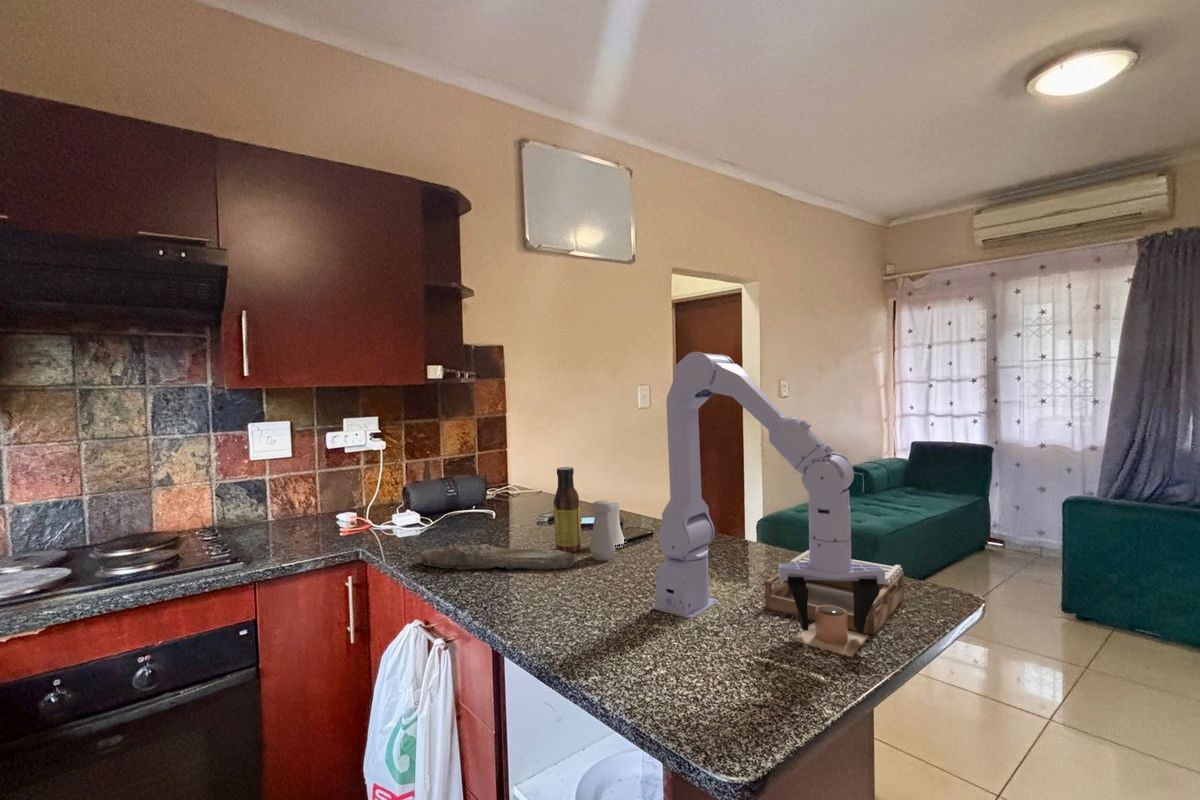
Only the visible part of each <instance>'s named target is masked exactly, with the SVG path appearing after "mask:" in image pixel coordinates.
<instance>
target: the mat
mask: <svg viewBox="0 0 1200 800" xmlns="http://www.w3.org/2000/svg"><path fill="white" fill-rule="evenodd" d="M868 638H869V634H865V633H858V632H857V631H853V630H848V642H847V643H845V644H841V645H834V644H828V643H824V642H822V641H820V640H818V639H817V638H816V625H815V621H814V622H812V623H811V624H810V625H808V631H804V630H803V631H802V632H801V633H800V634H799V635H798V636H797V637H795V638H794V641H795V642H798V643H801V644H804V645H808V646H812V647H816V648H818V649H822V650H826V651H829V652H832V653H837V654H841V655H844V656H848V657H851V658H852V657H854V655H855V653H857V651H858V650H859V649H860V648H861V646H862V645H863V644H864V643H865V642H866V641H867V639H868Z"/></svg>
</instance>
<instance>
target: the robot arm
mask: <svg viewBox="0 0 1200 800" xmlns="http://www.w3.org/2000/svg"><path fill="white" fill-rule="evenodd" d="M673 369H674V378H673V381H672V383H671V385H670V388H669V391H668V392H667V396H666V403H665V404H666V420H667V422H666V423H667V425H666V427H667V448H668V449H667V451H668V471H669V472H668V474H669V475H668V476H669V493H670V494H669V497H670V499H669V501H668V503H667V504H666V506H665V507H664V509H663V510H662V512H661V516H662V517H661V525H660V528H658V529H659V530H658V534H657V540H658V544H659V545H660V548H661V549H662V551H663V552H664V555H665V559H664V561H663V562H662V563H661V564H659V566H658V567H657V568H656V571H655V599H656V600H655V601H656V602H655V603H654V604H652V607H651V608H652V609H653V610H656V611H660V612H662V613H663V612H664V613H666V614H671V615H675V616H676V615H677V616H679V617H683V618H687V619H693V618H695V617H696V616H699V615H701V614H702V613H703V612H705V611H707V610H708V609H710V608H711V607H713V606H715V605H717V604H718V603H719V602H720V601H719V599H716V598H713V597H710V591H709V590H710V588H709V580H710V579H709V545H710V543H711V542H713V539H714V537H715V526H714V524H713V521H712V519H711V517H710V511H709V510H710V508H709V505H708V504H707V503H706V502H705V500H704V499H703V498H702V477H701V476H702V474H701V473H702V472H701V454H700V453H701V452H700V450H701V449H700V426H699V425H700V424H699V422H700V421H699V409H700V407H702V406H703V405H704V404H705V403H706V402H707V401H708V400H709V399H710V397H712V396H714V395H717V394H718V395H723V396H728V397H731V398H733V399H734V400H735V401H736V402H738V403H739V404H740V406H742V407H743V408H744V409H745V410H746V411H747V412H749V414H751V415H752V417H753V418H755V419H756V420H757V421H758V422H759V423H760V424H761V425H762V426H764V427H765V429H767V430H768V441H769V444H770V445H771V446H773V448H774V449H775V450H776V451H777V452H778V453H779V454H780V455H781V456H782V457H783V458H784V459H785V460H786V461H787V462H788V463H789V465H791V467H792V468H793V469H794V470H796V471H797V473H799V474H801V482H802V485H803V487H804V488H805V490H806V491H807V492H808V547H809V549H808V550H809V561H810V562H800V563H790V562H788V563H778V565H777V568H778V569H777V570H778V572H777V573H778V576H779V580H780V581H784V580H785V581H786V582H787V584H788V586H789V588H790V590H791V593H792V595H793V598H794V600H795V603H796V606H797V610H798V614H799V616H798V618H799V623H800V627H801V630H803V631H808V627H809V619H808V613H807V602H808V588H807V587H806V582H805V581H804V580H841V581H852V587H853V596H854V627H855V628H856V630H857V631H856V632H857V633H860V634H864V633H863V632H864V627H865V622H866V619H867V616H868V613H869V611H870V608H871V606H872V604H873V602H874V601H875V599H876V598H877V596H878V595H879V591H880V587H879V586H878V585H877V583H885V570H884V569H883V568H882V567H881V566H871V565H861V564H853V563H851V559H852V530H851V529H852V528H851V527H852V524H851V520H852V519H851V514H852V513H851V505H850V501H851V500H850V499H851V498H850V489H848V488H849V487H850V486H851V485H852V483H853V482H854V478H855V471H854V468H853V465H852V463H850V461H849V460H848V458H847V457H846V456H845V455H843V454H841V453H838V452H835V447H833V446H832V445H831V444H828V445H826V443H825V442H823V440H821V439H820V437H818V436H817V434H815V433H814V432H813V430H811V429H810V428H811V426H812V424H811V422H809V421H808V420H807V419H803V420H801V419H800V418H799V417H797V416H785V414H784V413H783V412H782V411H781V410H780V409H779V408H778V406H776V405H775V404H774V402H773V401H772V400H771V399H770V398H769V397H768V396H767V395H766V393H764V391H762V389H761V388H760V387H759V386H758V385H757V384H756V383H755V381H753V380H752V378H751V377H750V376H749V375H748V374H747V373H746V371H745V370H744V368H743V367H742V366H740V365H739V364H737V363H735V362H734V360H732V358H731V357H729V356H727V355H725V354H722V353H719V354H718V353H716V354H714V353H705V352H704V353H703V352H701V351H693V352H689V353H688V354H686V355H685V356H684V357H683V358H682V359H681V360H680V361H678V363H677V364H676V365H674V367H673Z"/></svg>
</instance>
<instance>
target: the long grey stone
mask: <svg viewBox="0 0 1200 800" xmlns="http://www.w3.org/2000/svg"><path fill="white" fill-rule="evenodd" d="M418 559H419V561H420V562H421V563H422V564H423V565H424V566H429V567H436V568H440V569H443V568H445V569H449V568H453V569H456V570H458V569H459V570H458V571H461V569H464V570H467V569H468V570H474V569H478V570H483V569H486V570H489V569H494V568H496V567H497V568H502V569H503V568H504V569H507V570H514V569H528V570H536V571H538V570H540V571H541V570H542V571H548V570H556V569H557V570H558V569H568V568H571V567H574V564H575V562H576V561H575V560H576V557H575V556H574V553H573V552H571V553H566V552H562V551H559V550H557V549H548V550H545V549H529V548H528V549H526V548H525V549H524V548H523V549H520V548H519V549H512V548H510V549H509V548H505V547H504V548H503V547H496V546H492V545H489V544H488V543H487V544H486V543H482V544H479V545H455V546H454V545H446V546H445V547H443V548H431V549H427V550H423V551H422V552H421V553H420V555H419V558H418Z"/></svg>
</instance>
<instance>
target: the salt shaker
mask: <svg viewBox="0 0 1200 800" xmlns="http://www.w3.org/2000/svg"><path fill="white" fill-rule="evenodd" d="M611 503H612V502H610V501H608V500H604V499H603V500H602V499H599V500H596V501H594V502H593V503H592V512H594V513H595V514H594V519H593V526H592V532H591V538H590V544H589V550H590V553H591V555H592V558H593V559H594V560H595V561H599V562H603V561H604V562H605V561H609V560H612V559H613V557H614V553H615V551H616V548H615V544H614V539H613V533H612V528H611V522H610V517H609V512H610V511H611Z"/></svg>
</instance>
